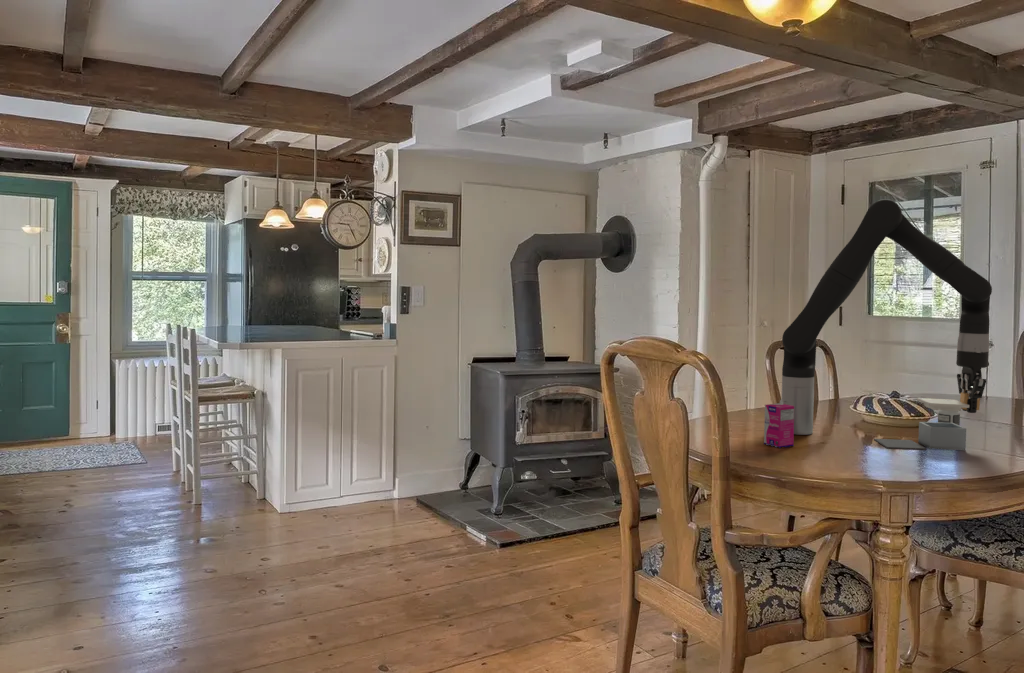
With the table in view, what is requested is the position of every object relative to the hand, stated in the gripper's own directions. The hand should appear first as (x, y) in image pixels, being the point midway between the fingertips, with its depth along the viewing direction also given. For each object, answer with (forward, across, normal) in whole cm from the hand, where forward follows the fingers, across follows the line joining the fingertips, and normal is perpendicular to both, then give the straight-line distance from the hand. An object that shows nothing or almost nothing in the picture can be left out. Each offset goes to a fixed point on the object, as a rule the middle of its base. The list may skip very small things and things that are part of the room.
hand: (969, 411), depth 213 cm
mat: (+10, 0, -18) cm, 20 cm away
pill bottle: (+10, -17, +1) cm, 20 cm away
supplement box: (+11, +8, -52) cm, 53 cm away
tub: (+10, 0, -7) cm, 12 cm away
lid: (0, 0, -5) cm, 5 cm away
